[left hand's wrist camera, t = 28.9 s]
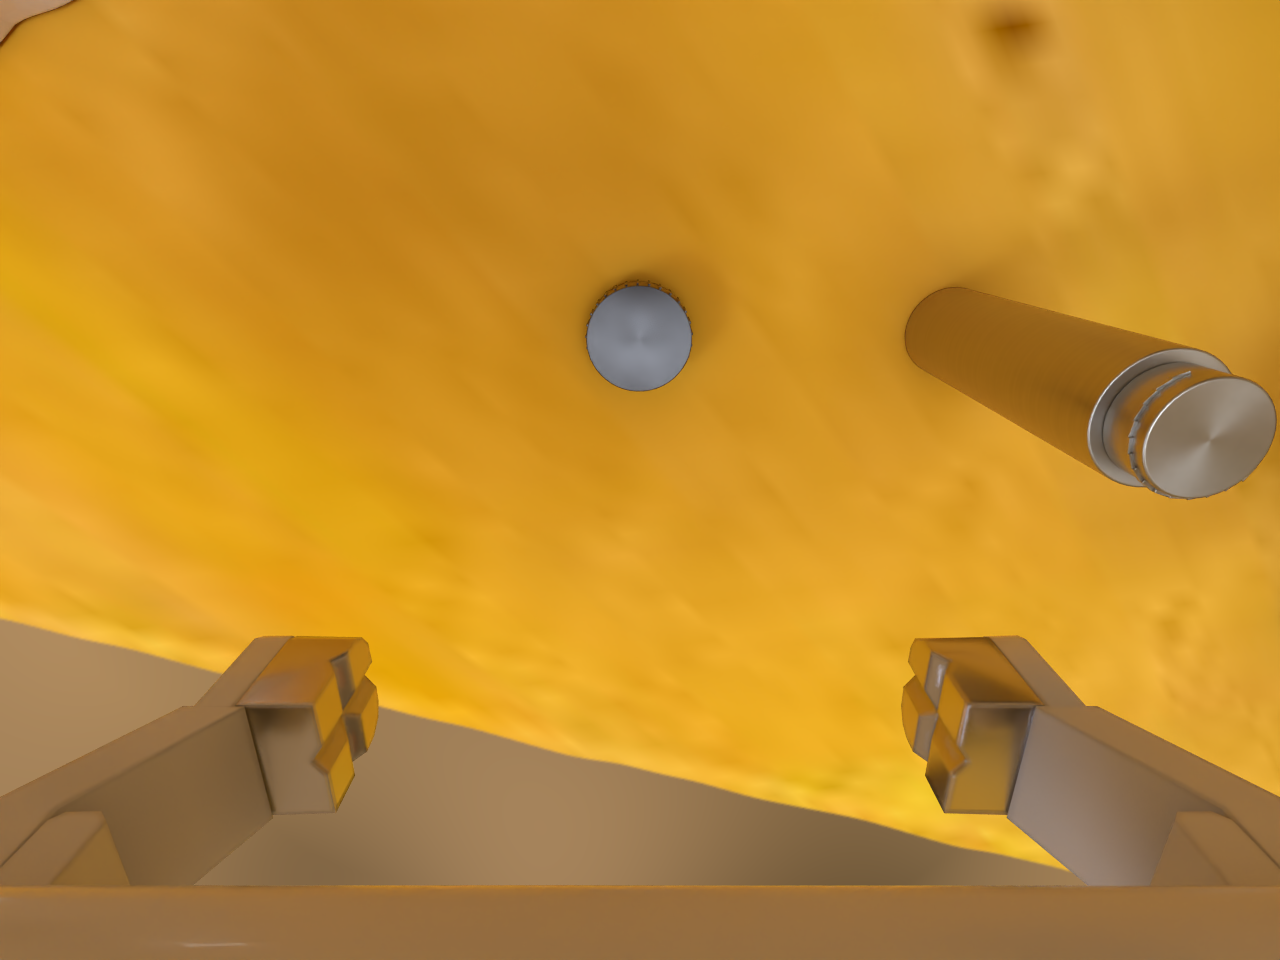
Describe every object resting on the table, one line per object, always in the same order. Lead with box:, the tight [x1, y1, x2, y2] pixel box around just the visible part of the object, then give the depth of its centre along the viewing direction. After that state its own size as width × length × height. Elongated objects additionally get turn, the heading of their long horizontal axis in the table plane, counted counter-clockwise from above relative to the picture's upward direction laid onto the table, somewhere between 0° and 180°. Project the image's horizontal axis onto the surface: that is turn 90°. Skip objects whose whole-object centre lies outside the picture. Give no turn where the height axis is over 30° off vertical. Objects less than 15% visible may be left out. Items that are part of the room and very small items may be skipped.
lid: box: [585, 280, 693, 391], centre depth 37 cm, size 6×6×2 cm
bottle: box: [905, 287, 1277, 500], centre depth 29 cm, size 5×5×19 cm
